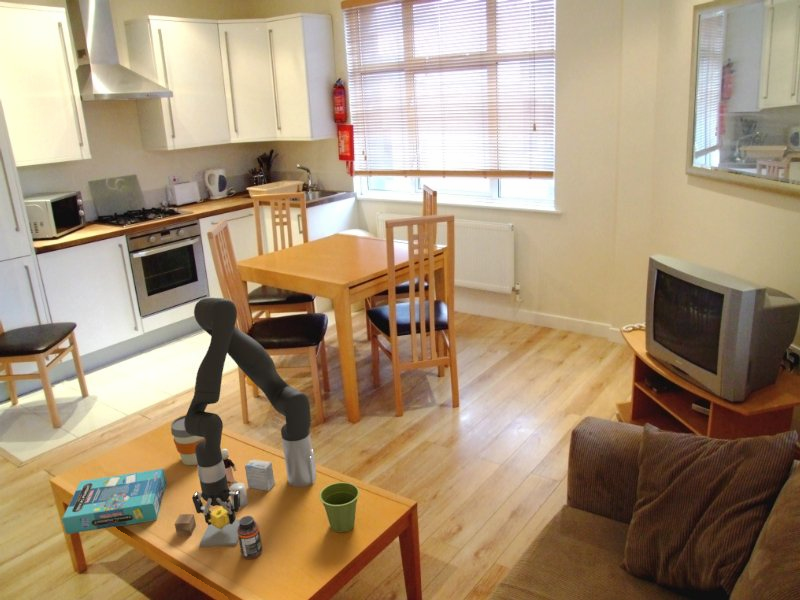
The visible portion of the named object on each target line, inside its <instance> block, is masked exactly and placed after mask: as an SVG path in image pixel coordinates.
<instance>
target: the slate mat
mask: <svg viewBox="0 0 800 600" xmlns="http://www.w3.org/2000/svg"><path fill="white" fill-rule="evenodd" d="M240 519H241V518H240ZM240 519H238V518H237V519H235V521H234V522H233V524H229V525H226V526H224V527H223V529H218V528H216V527H215V526H213V525H212V524H211V525H208V524H207V527H206V530H205V531H204V533H203V536H202V538H201V540H200V541H199V544H198V545H199V546H198V547H224V546H225V547H227V546H237V545H238V543H239V538H238V532H237V529H238V527H239V525H240V523H239V521H240Z"/></svg>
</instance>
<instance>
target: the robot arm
mask: <svg viewBox="0 0 800 600" xmlns="http://www.w3.org/2000/svg"><path fill="white" fill-rule="evenodd" d="M193 308H194V310H193V314H194V318H195V322H197V324H198V326H199V327H200V328H202V329H203V330H204V331H205V333H207V334H208V335H209V336H211V337H210V343H209V346H208V348H207V351H206V353H205V356H204V357H203V359H202V361H201V363H200V365H199V367H198V370H197V372H196V377H195V385H194V391H193V393H194V394H193V397H192V399H191V401H190V404H189V407H188V410H187V412H186V414H185V415H186V417H185V421H184V426H185V430H186V432H187V433H188V434H190V435H193V436H199V437H204V438H205V440H203V441H201V442H199V443H198V444H197V445H196V447H195V453H196V458H197V463H198V464H197V473H198V474H197V476H198V479H199V483H200V484H199V485H200V491H201V492H199V491H195V492H194V494H193V495H192V497H191V499H192V503H193V505H194V508H195V511H196V513H197V514H203V515H204V521H205V523H206V524H207V526H208V525H211V522H209V521H208V520H210V513H212V511H211V510H210V509H211V507H216V506H217V507H221V506H222V507H223V508H224V509H226V510H227V512H228V513H229V514H228V516H229V522H230V524H233V522H234V521H235V519H236V513H238V512H239V510H240V491H239V490H237V491H236V492H230V490H229V483H227V477H226V471H225V465H224V462H223V459H222V453H221V450H222V448H221V444H222V435H223V428H224V423H223V420H222V417H221V416H220V415H219V414H217V413H214V412H207V411H206V409H207V407H208V405H211V404H212V405H214V404H217V403H218V402H219V400H220V395H221V389H222V380H223V374H224V373H223V372H224V366H225V362H226V358H227V355H228V356H229V357H230V358H231V359H232V360H233V361H234V362H235V364H236V365H237V366H238V368H239V369H240V370H242V372H243V374H245V375H246V377H248V379H250V380H251V381H252V382H253V383H254V385H256V386H257V388H259V389H260V390H261V391H262V392H263V394H264V395H265V397H266V398H267V399H268V401H269V403H270V404H271V406H272V407H273V409H275V411H276V412H277V413H278V414H280V415H282V416H283V417H285V424H284V425H282V427H281V429H280V433H281V434H280V435H281V443H282V448H283V454H284V462H285V463H284V464H285V470H286V478H287V482H288V484H289V485H290V486H292V487H294V488H301V487H306V486H309V485H313V484H314V483H315V480H316V477H317V466H316V457H315V452H314V451H315V450H314V449H313V447H312V441H311V432H310V431H311V430H310V428H311V424H312V419H311V417H312V416H311V406H310V400H309V397H308V395H306V394H305V393H303V392H302V391H301V390H298V389H296V388H294V387H292V386H291V385H289V384H288V383H287V382H286V381H285V380H284V379H283V378H282V377H281V376H280V374H279V373H278V371H277V368H276V365H275V362H274V360H273V358H272V357H271V356H270V354H269V353H268V351H267V350H266V349H265V348H264V347H263V346H262V345H261V344H260V342H258V341H257V340H255V339H254V338H253V337H251V336H250V335H248V334H246V332H244V331H242V330H240V329H239V328H237V326H236V322H237V317H238V309H237V307H236V304H235V303H234V301H232V300H230V299H229V298H225V297H224V298H222V297H205V298H202V299H200V300H199V301H197V302H196V304H195V305H194V307H193ZM231 497H232V500H234V506H233V504H232V502H231ZM202 499H203V500H204V501H205V502H206V503H205V506H204V504H203V502H202Z"/></svg>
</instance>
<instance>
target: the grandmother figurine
mask: <svg viewBox="0 0 800 600" xmlns="http://www.w3.org/2000/svg"><path fill="white" fill-rule="evenodd" d="M229 452H230V451H229V450H228V448H221V453H222V459H223V462H224V465H225V471H226V477H227V483H228V484H229V486H231V485H233V484H235V483H238V480H237V479H236V478H235V476H234V472H236V471H237V468H236V464H235V463H234V462H233V461H232V459H230V458H229V455H230V453H229Z"/></svg>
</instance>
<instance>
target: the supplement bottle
mask: <svg viewBox="0 0 800 600" xmlns="http://www.w3.org/2000/svg"><path fill="white" fill-rule="evenodd" d="M239 523H240V525H239V527H238V529H237V532H238V538H239V540H238V543H239V548H240V553H241V556H242V557H243V558H244V559H247V560H250V559H251V560H252V559H255V558H257V557H259V556H260V555H261V554H262V552H263V545H262V539H261V538H262V537H261V534H260V527H259V525H258V523H257V521H256V522H255V519H254V517H253V516H251V515H245V516H242V517H241V518H240V521H239Z"/></svg>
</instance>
